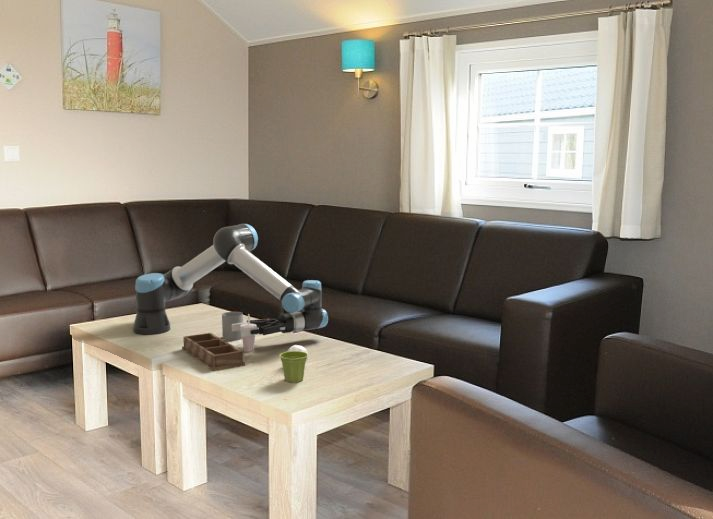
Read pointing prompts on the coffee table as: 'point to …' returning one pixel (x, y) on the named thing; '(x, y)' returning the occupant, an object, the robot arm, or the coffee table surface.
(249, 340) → the smoothie
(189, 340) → the caddy
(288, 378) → the plant pot
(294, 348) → the geometric ball
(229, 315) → the cup
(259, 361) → the coffee table surface
